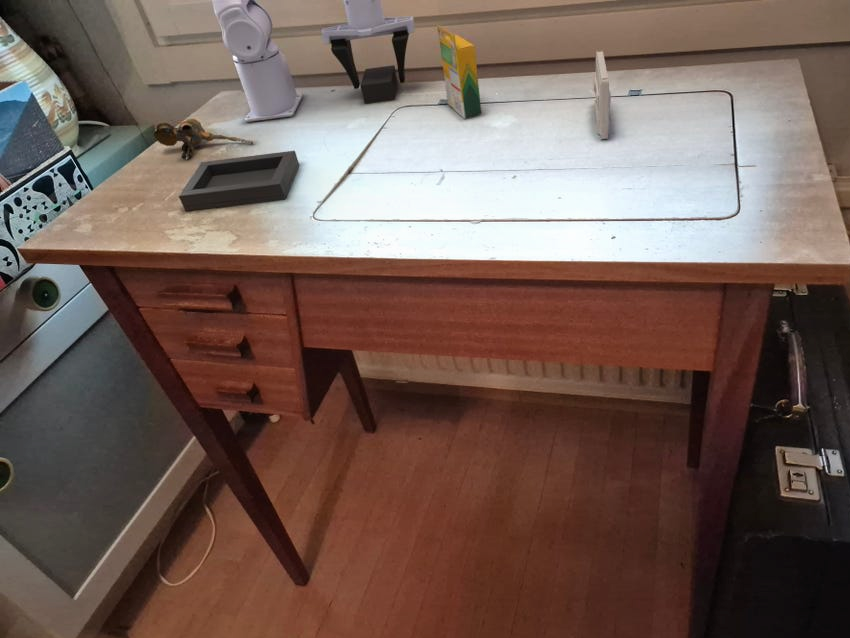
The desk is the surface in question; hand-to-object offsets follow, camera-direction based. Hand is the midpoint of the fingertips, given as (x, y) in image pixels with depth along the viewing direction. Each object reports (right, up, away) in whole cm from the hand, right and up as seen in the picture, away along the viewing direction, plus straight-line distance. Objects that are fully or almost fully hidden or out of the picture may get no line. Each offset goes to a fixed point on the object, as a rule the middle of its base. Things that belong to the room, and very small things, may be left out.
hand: (379, 83), depth 109 cm
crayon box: (+14, -8, -9) cm, 19 cm away
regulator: (-25, -13, -8) cm, 30 cm away
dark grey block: (0, -1, +1) cm, 2 cm away
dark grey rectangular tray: (-15, -23, -21) cm, 34 cm away
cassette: (+33, -13, -18) cm, 40 cm away
